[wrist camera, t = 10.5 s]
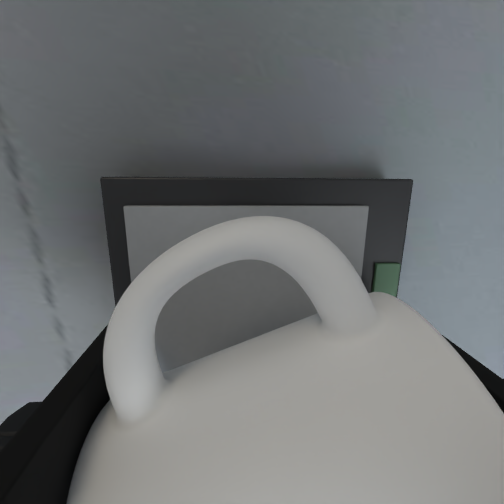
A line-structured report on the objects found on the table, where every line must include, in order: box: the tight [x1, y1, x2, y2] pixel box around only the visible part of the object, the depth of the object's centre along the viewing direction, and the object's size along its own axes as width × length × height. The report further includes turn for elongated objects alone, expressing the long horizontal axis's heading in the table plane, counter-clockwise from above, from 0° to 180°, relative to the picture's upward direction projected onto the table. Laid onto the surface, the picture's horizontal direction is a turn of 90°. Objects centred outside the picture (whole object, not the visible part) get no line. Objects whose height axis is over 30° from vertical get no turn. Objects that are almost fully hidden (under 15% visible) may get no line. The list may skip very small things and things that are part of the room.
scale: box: [100, 177, 413, 373], centre depth 15 cm, size 14×14×3 cm
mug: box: [67, 216, 504, 504], centre depth 9 cm, size 12×10×8 cm
